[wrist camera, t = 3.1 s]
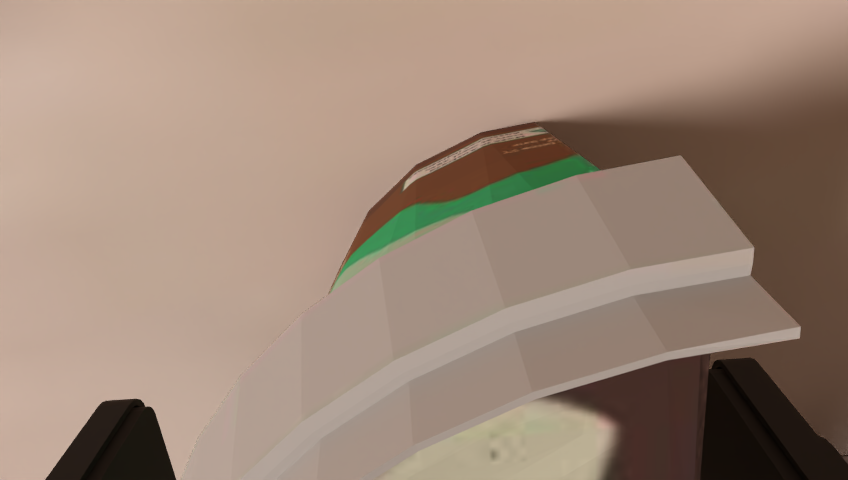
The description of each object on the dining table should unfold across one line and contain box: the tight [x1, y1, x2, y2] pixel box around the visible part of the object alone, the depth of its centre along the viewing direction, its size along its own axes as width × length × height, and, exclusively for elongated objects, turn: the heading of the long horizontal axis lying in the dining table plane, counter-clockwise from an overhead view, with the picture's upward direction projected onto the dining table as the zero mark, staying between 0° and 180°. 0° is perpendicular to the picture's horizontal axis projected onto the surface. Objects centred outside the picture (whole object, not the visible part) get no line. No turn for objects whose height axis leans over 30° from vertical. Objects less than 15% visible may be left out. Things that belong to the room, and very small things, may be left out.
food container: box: [181, 122, 801, 480], centre depth 11 cm, size 12×6×10 cm, turn 6°
